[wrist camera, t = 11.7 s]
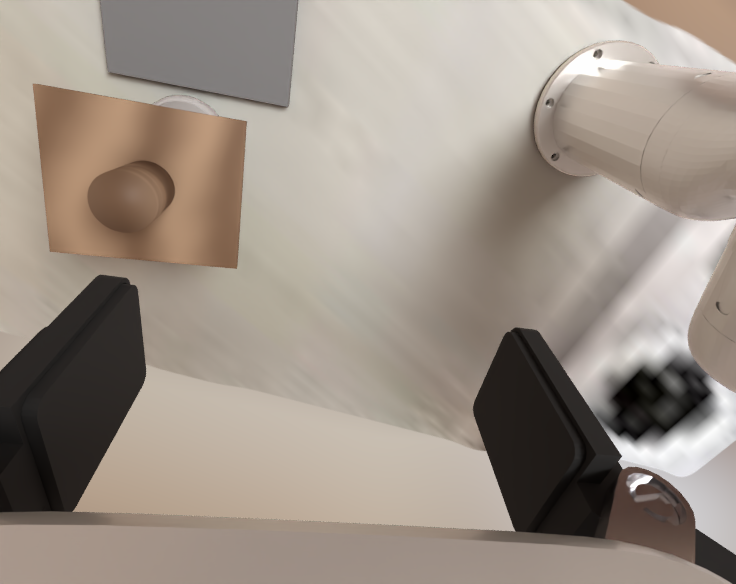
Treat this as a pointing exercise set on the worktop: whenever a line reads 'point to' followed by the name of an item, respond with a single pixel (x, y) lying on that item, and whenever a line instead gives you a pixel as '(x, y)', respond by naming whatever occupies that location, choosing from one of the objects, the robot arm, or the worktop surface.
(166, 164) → the walnut lid
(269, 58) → the grey flat slab
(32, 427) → the robot arm
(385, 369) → the worktop surface
